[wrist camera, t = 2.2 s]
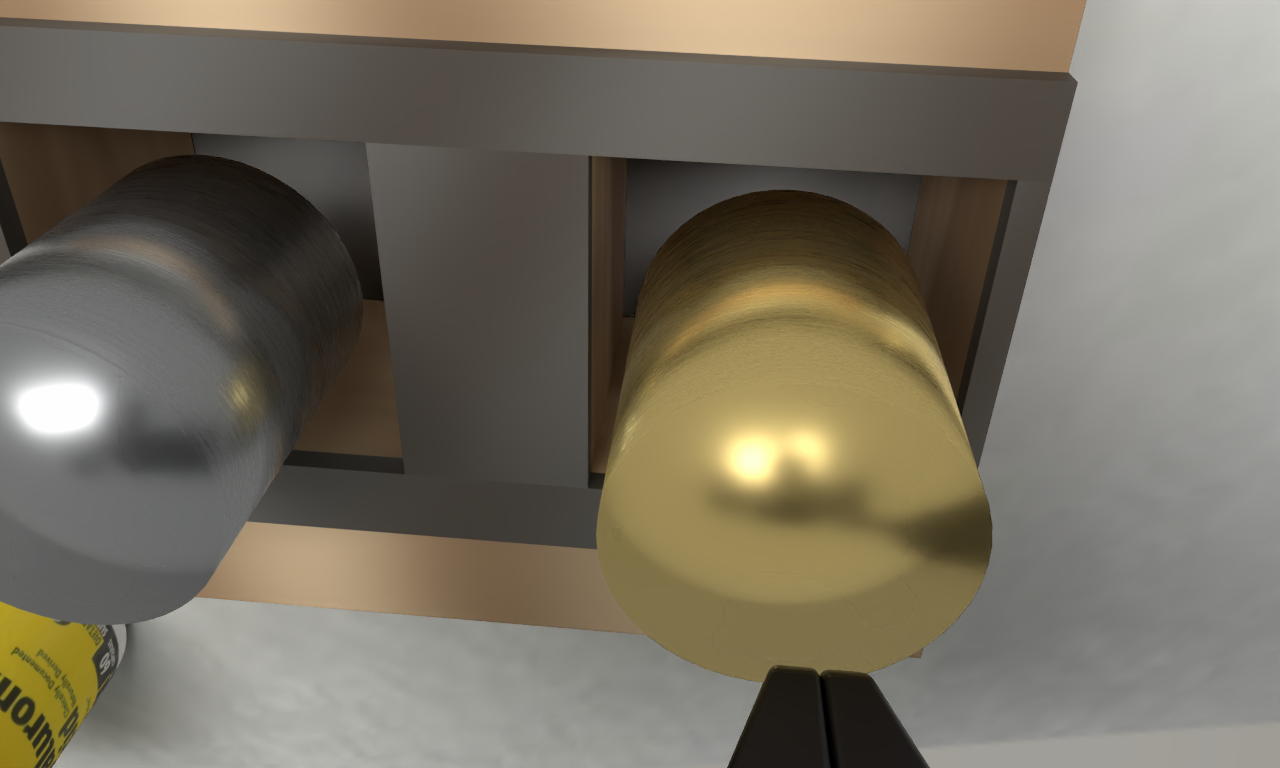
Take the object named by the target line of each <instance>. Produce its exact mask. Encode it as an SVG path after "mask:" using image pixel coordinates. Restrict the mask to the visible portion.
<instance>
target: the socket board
mask: <svg viewBox="0 0 1280 768" xmlns="http://www.w3.org/2000/svg"><path fill="white" fill-rule="evenodd" d="M1085 4H1086V0H0V265H1V264H3V263H4V262H5V261H7V260H8V259H10V258H11V257H12V256H14V255H15V254H17V253H18V252H19V251H21V250H22V249H24V248H25V247H26V246H28V245H29V244H31V243H32V242H33V241H35V240H36V239H38V238H39V237H40V236H42V235H43V234H45V233H46V232H47V231H49V230H50V229H52V228H53V227H54V226H56V225H57V224H59V223H60V222H61V221H63V220H64V219H66V218H67V217H68V216H70V215H71V214H73V213H74V212H75V211H77V210H78V209H80V208H81V207H82V206H84V205H85V204H87V203H88V202H89V201H91V200H92V199H94V198H95V197H96V196H98V195H99V194H101V193H102V192H103V191H105V190H106V189H108V188H109V187H110V186H112V185H113V184H115V183H116V182H117V181H119V180H120V179H122V178H123V177H124V176H126V175H127V174H129V173H130V172H131V171H133V170H134V169H136V168H138V167H140V166H142V165H144V164H147V163H149V162H152V161H155V160H158V159H162V158H165V157H172V156H179V155H195V153H194V148H193V143H192V138H191V134H190V133H207V134H225V135H242V136H259V137H277V138H294V139H311V140H328V141H346V142H363V143H365V144H366V153H367V161H368V169H369V178H370V186H371V195H372V203H373V211H374V220H375V228H376V237H377V245H378V254H379V262H380V270H381V279H382V287H383V296H384V301H382V300H367V299H363V322H362V329H361V333H360V337H359V340H358V343H357V345H356V347H355V350H354V352H353V354H352V355H351V357H350V359H349V360H348V362H347V363H346V365H345V367H344V368H343V370H342V371H341V373H340V374H339V376H338V378H337V379H336V381H335V382H334V384H333V386H332V387H331V389H330V390H329V392H328V393H327V395H326V397H325V398H324V400H323V401H322V403H321V405H320V406H319V408H318V409H317V411H316V412H315V414H314V416H313V417H312V419H311V420H310V422H309V424H308V425H307V427H306V428H305V430H304V431H303V433H302V435H301V436H300V438H299V439H298V441H297V443H296V444H295V446H294V447H293V449H292V450H291V452H290V454H289V455H288V457H287V458H286V460H285V462H284V463H283V465H282V466H281V468H280V469H279V471H278V473H277V474H276V476H275V477H274V479H273V481H272V482H271V484H270V485H269V487H268V488H267V490H266V492H265V493H264V495H263V496H262V498H261V499H260V501H259V503H258V504H257V506H256V507H255V509H254V511H253V512H252V514H251V515H250V517H249V518H248V520H247V522H246V523H245V525H244V526H243V528H242V530H241V531H240V533H239V534H238V536H237V537H236V539H235V541H234V542H233V544H232V545H231V547H230V549H229V550H228V552H227V553H226V555H225V556H224V558H223V560H222V561H221V563H220V564H219V566H218V568H217V569H216V571H215V572H214V574H213V575H212V577H211V578H210V580H209V581H208V583H207V584H206V586H205V587H204V588H203V589H202V590H201V591H200V592H199V593H198V594H197V595H196V596H195V597H204V598H215V599H227V600H239V601H251V602H263V603H275V604H287V605H298V606H310V607H322V608H334V609H346V610H358V611H370V612H381V613H393V614H405V615H417V616H429V617H441V618H453V619H464V620H476V621H488V622H500V623H512V624H524V625H536V626H547V627H559V628H571V629H583V630H595V631H607V632H619V633H630V634H642V635H646V634H645V633H644V632H643V631H642V630H641V629H640V628H639V627H638V626H637V625H636V624H635V623H633V621H632V620H631V619H630V618H629V617H628V615H627V614H626V613H625V612H624V611H623V609H622V608H621V607H620V606H619V604H618V602H617V601H616V599H615V597H614V596H613V594H612V593H611V591H610V589H609V587H608V584H607V582H606V580H605V577H604V575H603V573H602V569H601V565H600V561H599V557H598V552H597V539H596V530H597V519H598V512H599V506H600V501H601V496H602V490H603V485H604V480H605V474H606V469H607V464H608V458H609V453H610V448H611V442H612V437H613V432H614V426H615V421H616V416H617V410H618V405H619V399H620V394H621V389H622V383H623V378H624V373H625V367H626V362H627V357H628V351H629V346H630V341H631V335H632V330H633V325H634V319H635V317H623V310H624V266H625V223H626V179H627V158H639V159H656V160H673V161H691V162H708V163H725V164H742V165H760V166H777V167H794V168H811V169H829V170H846V171H863V172H880V173H898V174H915V175H923V176H922V181H921V187H920V192H919V198H918V203H917V208H916V214H915V219H914V224H913V230H912V235H911V241H910V246H909V251H908V259H909V261H910V263H911V265H912V267H913V269H914V272H915V275H916V278H917V281H918V284H919V287H920V290H921V293H922V296H923V299H924V302H925V306H926V309H927V312H928V315H929V318H930V321H931V324H932V328H933V331H934V334H935V337H936V340H937V343H938V346H939V350H940V353H941V356H942V359H943V362H944V365H945V368H946V372H947V375H948V378H949V381H950V384H951V387H952V391H953V394H954V397H955V400H956V403H957V406H958V409H959V413H960V416H961V419H962V422H963V425H964V428H965V431H966V435H967V438H968V441H969V444H970V447H971V450H972V453H973V457H974V460H975V463H976V466H977V469H978V466H979V462H980V458H981V454H982V451H983V447H984V443H985V439H986V435H987V431H988V427H989V423H990V420H991V416H992V412H993V408H994V404H995V400H996V396H997V393H998V389H999V385H1000V381H1001V377H1002V373H1003V369H1004V365H1005V362H1006V358H1007V354H1008V350H1009V346H1010V342H1011V338H1012V334H1013V331H1014V327H1015V323H1016V319H1017V315H1018V311H1019V307H1020V303H1021V300H1022V296H1023V292H1024V288H1025V284H1026V280H1027V276H1028V272H1029V269H1030V265H1031V261H1032V257H1033V253H1034V249H1035V245H1036V241H1037V238H1038V234H1039V230H1040V226H1041V222H1042V218H1043V214H1044V210H1045V207H1046V203H1047V199H1048V195H1049V191H1050V187H1051V183H1052V180H1053V176H1054V172H1055V168H1056V164H1057V160H1058V156H1059V152H1060V149H1061V145H1062V141H1063V137H1064V133H1065V129H1066V125H1067V121H1068V118H1069V114H1070V110H1071V106H1072V102H1073V98H1074V94H1075V90H1076V87H1077V83H1078V82H1077V81H1076V80H1075V79H1074V78H1073V77H1072V76H1071V75H1070V74H1069V73H1068V71H1069V68H1070V64H1071V60H1072V56H1073V52H1074V48H1075V44H1076V40H1077V36H1078V32H1079V28H1080V24H1081V20H1082V16H1083V12H1084V8H1085ZM922 651H923V648H922V649H920V650H919V651H917V652H915V653H914V654H912V655H910V656H908V657H915V658H921V655H922Z"/></svg>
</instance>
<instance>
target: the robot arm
mask: <svg viewBox="0 0 1280 768" xmlns="http://www.w3.org/2000/svg"><path fill="white" fill-rule="evenodd" d="M727 768H930V767H929V766H928V764H927V763H926V761H925V760H924V758H923V756H922V755H921V753H920V752H919V750H918V749H917V747H916V745H915V744H914V742H913V741H912V739H911V738H910V736H909V735H908V733H907V731H906V730H905V728H904V727H903V725H902V724H901V722H900V720H899V719H898V717H897V716H896V714H895V713H894V711H893V710H892V708H891V706H890V705H889V703H888V702H887V700H886V699H885V697H884V695H883V694H882V692H881V691H880V689H879V688H878V686H877V684H876V683H875V682H874V680H873V679H872V678H871V677H870V676H869V675H867V674H866V673H862V672H853V671H842V670H831V669H828V670H824V671H823V672H821V674H820V675H819V674H818V672H817V671H816V670H815V669H813V668H809V667H797V666H786V665H774V666H772V667H771V668H770V669H769V671H768V673H767V675H766V678H765V680H764V682H763V685H762V687H761V689H760V692H759V694H758V697H757V699H756V701H755V704H754V706H753V708H752V711H751V713H750V715H749V718H748V720H747V722H746V725H745V727H744V730H743V732H742V734H741V737H740V739H739V741H738V744H737V746H736V748H735V751H734V753H733V755H732V758H731V760H730V762H729V765H728V767H727Z"/></svg>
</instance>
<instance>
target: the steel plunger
mask: <svg viewBox="0 0 1280 768" xmlns="http://www.w3.org/2000/svg"><path fill="white" fill-rule="evenodd" d="M362 322H363V295H362V290H361V285H360V280H359V277H358V274H357V271H356V268H355V265H354V262H353V260H352V258H351V256H350V254H349V252H348V250H347V248H346V246H345V245H344V243H343V242H342V240H341V238H340V237H339V235H338V234H337V232H336V231H335V229H334V228H333V227H332V226H331V225H330V223H329V222H328V221H327V220H326V218H325V217H324V216H323V215H322V214H321V213H320V212H319V211H318V210H317V209H316V208H315V207H314V206H313V205H312V204H311V203H310V202H309V201H308V200H306V199H305V198H304V197H303V196H301V195H300V194H299V193H298V192H296V191H295V190H294V189H293V188H291V187H289V186H288V185H286V184H285V183H283V182H282V181H280V180H278V179H277V178H275V177H273V176H271V175H269V174H267V173H265V172H263V171H261V170H259V169H257V168H254V167H252V166H249V165H246V164H243V163H241V162H238V161H234V160H229V159H225V158H221V157H215V156H206V155H179V156H172V157H165V158H162V159H158V160H155V161H152V162H149V163H147V164H144V165H142V166H140V167H138V168H136V169H134V170H133V171H131V172H130V173H129V174H127V175H126V176H124V177H123V178H122V179H120V180H119V181H117V182H116V183H115V184H113V185H112V186H110V187H109V188H108V189H106V190H105V191H103V192H102V193H101V194H99V195H98V196H96V197H95V198H94V199H92V200H91V201H89V202H88V203H87V204H85V205H84V206H82V207H81V208H80V209H78V210H77V211H75V212H74V213H73V214H71V215H70V216H68V217H67V218H66V219H64V220H63V221H61V222H60V223H59V224H57V225H56V226H54V227H53V228H52V229H50V230H49V231H47V232H46V233H45V234H43V235H42V236H40V237H39V238H38V239H36V240H35V241H33V242H32V243H31V244H29V245H28V246H26V247H25V248H24V249H22V250H21V251H19V252H18V253H17V254H15V255H14V256H12V257H11V258H10V259H8V260H7V261H5V262H4V263H3V264H1V265H0V601H1V602H3V603H6V604H8V605H11V606H13V607H16V608H18V609H21V610H24V611H27V612H30V613H34V614H37V615H40V616H43V617H48V618H52V619H57V620H61V621H66V622H74V623H81V624H93V625H118V624H130V623H136V622H141V621H147V620H150V619H153V618H157V617H160V616H163V615H166V614H168V613H170V612H172V611H174V610H176V609H178V608H180V607H182V606H183V605H184V604H186V603H187V602H189V601H190V600H192V599H193V598H194V597H195V596H196V595H197V594H198V593H199V592H200V591H201V590H202V589H203V588H204V587H205V586H206V584H207V583H208V581H209V580H210V578H211V577H212V575H213V574H214V572H215V571H216V569H217V568H218V566H219V564H220V563H221V561H222V560H223V558H224V556H225V555H226V553H227V552H228V550H229V549H230V547H231V545H232V544H233V542H234V541H235V539H236V537H237V536H238V534H239V533H240V531H241V530H242V528H243V526H244V525H245V523H246V522H247V520H248V518H249V517H250V515H251V514H252V512H253V511H254V509H255V507H256V506H257V504H258V503H259V501H260V499H261V498H262V496H263V495H264V493H265V492H266V490H267V488H268V487H269V485H270V484H271V482H272V481H273V479H274V477H275V476H276V474H277V473H278V471H279V469H280V468H281V466H282V465H283V463H284V462H285V460H286V458H287V457H288V455H289V454H290V452H291V450H292V449H293V447H294V446H295V444H296V443H297V441H298V439H299V438H300V436H301V435H302V433H303V431H304V430H305V428H306V427H307V425H308V424H309V422H310V420H311V419H312V417H313V416H314V414H315V412H316V411H317V409H318V408H319V406H320V405H321V403H322V401H323V400H324V398H325V397H326V395H327V393H328V392H329V390H330V389H331V387H332V386H333V384H334V382H335V381H336V379H337V378H338V376H339V374H340V373H341V371H342V370H343V368H344V367H345V365H346V363H347V362H348V360H349V359H350V357H351V355H352V354H353V352H354V350H355V347H356V345H357V343H358V340H359V337H360V333H361V329H362Z"/></svg>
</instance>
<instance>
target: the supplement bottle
mask: <svg viewBox="0 0 1280 768" xmlns="http://www.w3.org/2000/svg"><path fill="white" fill-rule="evenodd" d="M126 639H127V636H126V627H125V624H118V625H93V624H81V623H74V622H66V621H61V620H57V619H52V618H48V617H43V616H40V615H37V614H34V613H30V612H27V611H24V610H21V609H18V608H16V607H13V606H11V605H8V604H6V603H3V602H1V601H0V768H52V767H53V765H54V764H55V762H56V761H57V759H58V757H59V756H60V754H61V753H62V751H63V750H64V748H65V747H66V746H67V744H68V743H69V741H70V740H71V738H72V737H73V735H74V734H75V732H76V731H77V729H78V728H79V726H80V725H81V723H82V721H83V720H84V718H85V717H86V716H87V714H88V713H89V711H90V709H91V708H92V707H93V705H94V704H95V702H96V701H97V699H98V697H99V696H100V694H101V693H102V691H103V690H104V688H105V687H106V685H107V684H108V682H109V681H110V679H111V678H112V676H113V675H114V673H115V671H116V669H117V667H118V666H119V664H120V662H121V660H122V657H123V655H124V652H125V648H126Z"/></svg>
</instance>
